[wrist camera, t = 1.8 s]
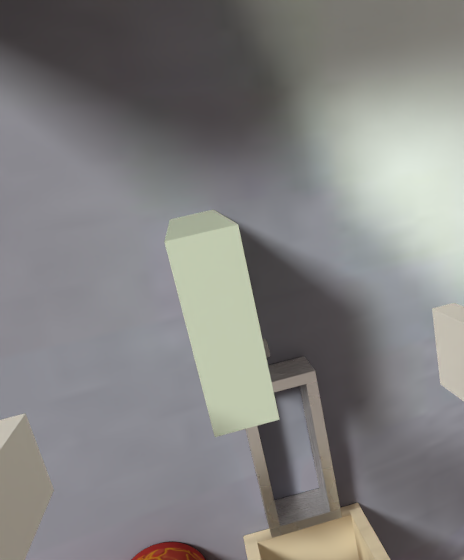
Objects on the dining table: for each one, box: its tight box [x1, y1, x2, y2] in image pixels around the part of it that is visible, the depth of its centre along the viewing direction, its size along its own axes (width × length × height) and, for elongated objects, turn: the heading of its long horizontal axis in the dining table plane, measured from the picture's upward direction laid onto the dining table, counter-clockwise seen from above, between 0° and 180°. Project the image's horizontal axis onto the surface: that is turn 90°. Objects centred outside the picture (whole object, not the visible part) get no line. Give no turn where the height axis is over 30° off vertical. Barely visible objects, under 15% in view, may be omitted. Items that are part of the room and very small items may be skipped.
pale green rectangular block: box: [165, 210, 279, 437], centre depth 23 cm, size 9×4×12 cm, turn 12°
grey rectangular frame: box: [245, 356, 342, 538], centre depth 31 cm, size 13×6×3 cm, turn 12°
